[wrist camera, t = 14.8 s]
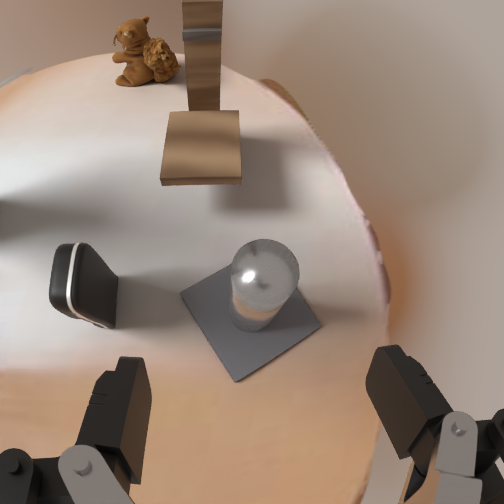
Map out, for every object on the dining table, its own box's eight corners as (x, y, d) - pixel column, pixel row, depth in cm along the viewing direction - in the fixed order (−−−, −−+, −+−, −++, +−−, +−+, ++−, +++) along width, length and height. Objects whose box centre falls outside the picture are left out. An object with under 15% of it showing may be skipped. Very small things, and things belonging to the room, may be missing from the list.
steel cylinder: (244, 341, 34) (255, 317, 22) (220, 304, 36) (218, 259, 23) (280, 317, 36) (312, 281, 23) (257, 282, 37) (274, 228, 24)
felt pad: (234, 382, 33) (235, 382, 33) (180, 294, 36) (179, 293, 36) (320, 326, 36) (322, 325, 36) (265, 246, 40) (265, 244, 39)
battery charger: (92, 274, 36) (51, 236, 26) (119, 275, 37) (84, 235, 26) (87, 329, 34) (40, 307, 23) (115, 330, 34) (74, 309, 24)
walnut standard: (238, 212, 41) (254, 51, 19) (169, 213, 40) (131, 56, 18) (235, 128, 47) (246, -11, 25) (178, 129, 46) (164, -9, 24)
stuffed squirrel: (140, 58, 55) (132, 7, 43) (194, 70, 53) (192, 14, 41) (108, 83, 51) (95, 30, 39) (163, 98, 49) (155, 37, 37)
